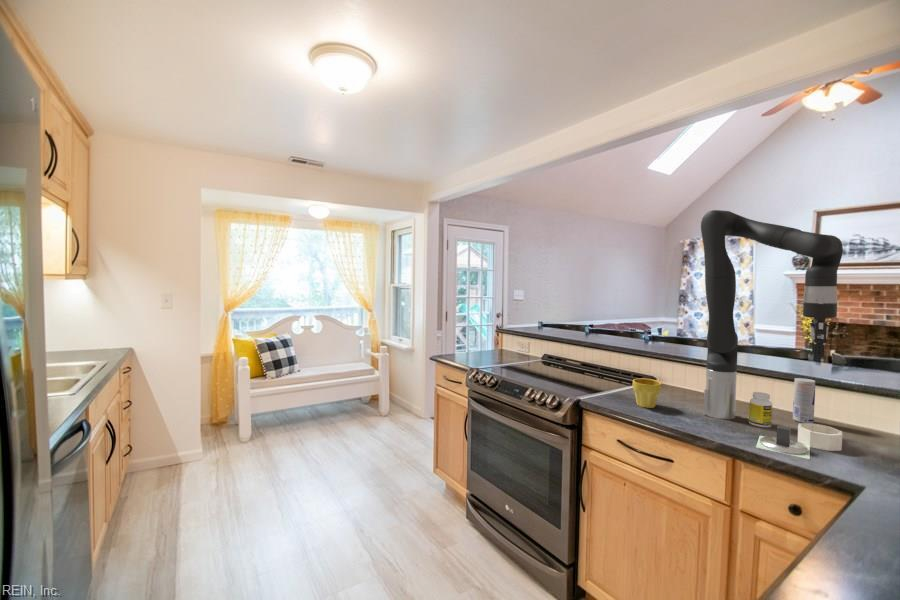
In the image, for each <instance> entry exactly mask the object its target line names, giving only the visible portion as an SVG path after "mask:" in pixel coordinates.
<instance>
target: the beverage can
mask: <svg viewBox="0 0 900 600" xmlns="http://www.w3.org/2000/svg"><path fill="white" fill-rule="evenodd" d="M815 399H816V380H813V379H808V378H801V377H799V378H798V377H795V378H794V383H793V403H792V404H793V405H792V406H793V407H792V419H793V420H794V421H796V422H799V423H814V422H815V401H816V400H815Z"/></svg>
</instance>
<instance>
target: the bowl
mask: <svg viewBox="0 0 900 600" xmlns="http://www.w3.org/2000/svg"><path fill="white" fill-rule="evenodd" d="M796 442H798V443H800V444H803V445H807V446H809V447H810V448H812V449H813V448H814V449H817V450H821V451H827V452H832V451H833V452H835V451H838V452H840V451H842V450H843V431H842V430H840V429H837V428H834V427H832V426H829V425H825V424H818V423H814V422H813V423H802V422H799V423H798V425H797V441H796Z"/></svg>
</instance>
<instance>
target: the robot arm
mask: <svg viewBox="0 0 900 600" xmlns="http://www.w3.org/2000/svg"><path fill="white" fill-rule="evenodd" d="M700 231H701V232H700V233H701V239H702V244H703V252H704V253H703V254H704V285H705V297H706V304H707V308H708V309H707V312H708V327H707V335H706V342H707V355H706V356H707V357H706V372H705V389H704V392H703V393H704V394H703V395H704V397H703V415H704V416H707V417H711V418H715V419H720V420H733V419H735V418H736V404H737V403H736V401H737V400H736V398H737V396H736V395H737V367H738V349H739V347H738V345H739V344H738V343H739V337H738V334H737V332H736V329H735V321H734V320H735V319H734V310H735V309H734V308H735V304H736V293H737V292H736V291H737V282H736V281H737V279H736V275H737V274H736V271H735V266H734V265H733V263H732V260H731V258H730V256H729V254H728V252H727V247H726V237H737V238H739V237H740V238H745V239H748V240H749V239H750V240H752V241H755V242H757V243H759V244H762V245H765V246H768V247H770V248H772V247H773V248H775V249H780V250H782V251H783V250H784V251H790V252H792V253H796V254H799V255H802V256H805V257H809V258H812V261H811V266H810V267H808V268H807V269H806V272H805V279H804V290H803V299H802V301H803V302H802V306H803V307H802V316H803V317H805V318H812V320H811V322H810V323H809V329H810V330H809V331H810V332H809V334H810V337H811V338H810V340H811V342H812V343H811V353H812V354H813V357H815V358H821V359H823V358H824V357H825V347H826V344H827V343H828V340H827V339H828V335H829V333H828V332H829V328H830V327H829V324H828V323H827V322H826V320H827V319H836V318H837V317H838V288H837V287H838V269H839V267H840V264H841V260H842V256H843V251H844V248H843V247H844V246H843V243H842V241H841V239H840V238H839V237H837V236H835V235H831V234H822V233H817V232H812V231H811V232H809V231H805V230H803V231H802V230H801V229H799V228H795V227H791V226H786V225H782V224H781V225H780V224H774V223H770V222H769V223H767V222H763V221H758V220H753V219H750V218H747V217H745V216H742V215H739V214H736V213H734V212H732V211H730V210H723V209H722V210H721V209H714V210H709V211H707V212H706V213H704V215H703V217H702V218H701V222H700Z"/></svg>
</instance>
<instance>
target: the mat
mask: <svg viewBox="0 0 900 600" xmlns="http://www.w3.org/2000/svg"><path fill="white" fill-rule="evenodd" d="M758 437H759V438H758V440H757V443H756V445H755V448H757V449H762V450H766V451H770V452H775V453H780V454H784V455H788V456H792V457H797V458H802V459H805V460H810V457H811V453H810V452H811V447H809V446H807V445H804V444H802V443H801V444H802V445H804V446H806V447H807V449H808V452H807V453H806V454H801V455H797V454H787V453H782V452H778V451H775V450H771V449H769V448H766V447H764V446H763V445H761V444H760V438H762V437H765V436H763V435H759V436H758Z"/></svg>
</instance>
